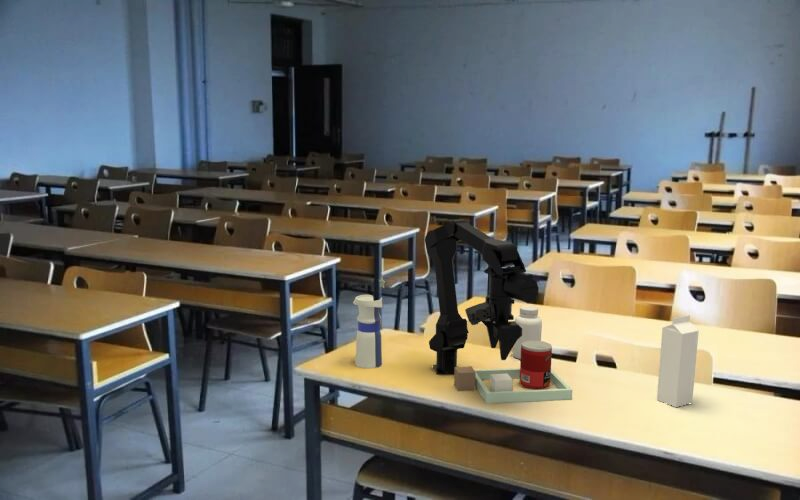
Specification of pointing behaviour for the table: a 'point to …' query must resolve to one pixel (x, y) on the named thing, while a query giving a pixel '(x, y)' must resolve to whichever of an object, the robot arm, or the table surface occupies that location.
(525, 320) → the pill bottle
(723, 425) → the table surface
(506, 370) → the mint green rectangular frame
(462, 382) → the brown carton
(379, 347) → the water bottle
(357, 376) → the table surface
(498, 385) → the white block
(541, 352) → the canned food
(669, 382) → the milk
